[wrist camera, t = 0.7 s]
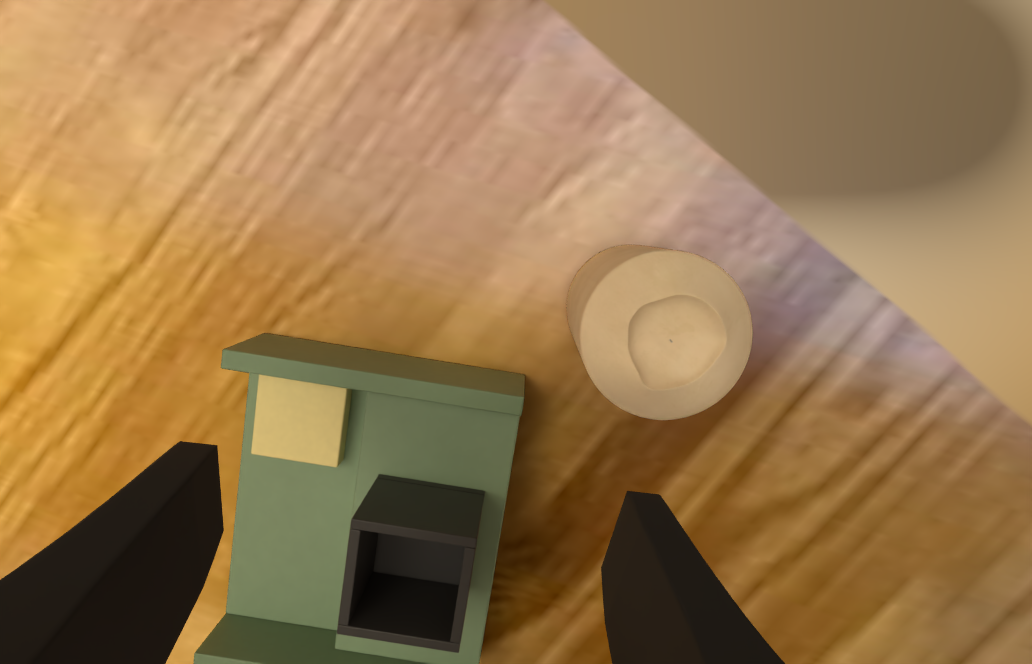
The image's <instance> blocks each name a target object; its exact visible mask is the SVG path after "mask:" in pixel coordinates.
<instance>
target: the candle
mask: <svg viewBox="0 0 1032 664" xmlns="http://www.w3.org/2000/svg"><path fill="white" fill-rule="evenodd" d="M566 309H567V319H568V324H569V327H570V330H571V333H572V336H573V338H574V341H575V343H576V346H577V348H578V351H579V353H580V356H581V358H582V361H583V363H584V366H585V368H586V370H587V372H588V374H589V376H590V378H591V380H592V381H593V383H594V384H595V386H596V387H597V389H598V390H599V391H600V392H601V393H602V394H603V395H604V396H605V397H606V398H607V399H608V400H609V401H610V402H612V403H613V404H614V405H616V406H617V407H619V408H621V409H622V410H624V411H626V412H628V413H631V414H633V415H636V416H639V417H643V418H648V419H654V420H673V419H679V418H685V417H688V416H691V415H694V414H697V413H699V412H701V411H703V410H706V409H707V408H709V407H711V406H712V405H714V404H715V403H717V402H718V401H719V400H720V399H722V398H723V397H724V396H725V395H726V394H727V393H728V392H729V391H730V390H731V389H732V388H733V386H734V385H735V384H736V382H737V381H738V379H739V378H740V376H741V374H742V372H743V371H744V369H745V366H746V364H747V361H748V359H749V355H750V351H751V346H752V337H753V331H752V320H751V314H750V310H749V307H748V304H747V301H746V299H745V297H744V295H743V293H742V291H741V290H740V288H739V287H738V285H737V284H736V282H735V281H734V280H733V279H732V278H731V277H730V275H729V274H727V273H726V272H725V271H724V270H723V269H722V268H721V267H719V266H718V265H716V264H715V263H713V262H712V261H710V260H707V259H705V258H703V257H701V256H698V255H695V254H692V253H688V252H683V251H678V250H671V249H663V248H656V247H649V246H642V245H621V246H616V247H612V248H609V249H607V250H604V251H602V252H600V253H598V254H597V255H595V256H594V257H592V258H591V259H590V260H589V261H587V262H586V263H585V264H584V265H583V266H582V268H581V269H580V270H579V271H578V273H577V274H576V276H575V278H574V280H573V282H572V284H571V286H570V289H569V292H568V297H567V307H566Z"/></svg>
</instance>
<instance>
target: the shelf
mask: <svg viewBox="0 0 1032 664" xmlns="http://www.w3.org/2000/svg"><path fill="white" fill-rule="evenodd" d="M221 368H222V369H228V370H234V371H240V372H247V373H249V383H248V394H247V404H246V414H245V424H244V434H243V444H242V454H241V464H240V474H239V484H238V494H237V505H236V515H235V525H234V535H233V545H232V555H231V565H230V575H229V585H228V595H227V605H226V614H225V615H224V617H223V618H222V619H221V620H220V622H219V623H218V624H217V625H216V627H215V628H214V629H213V630H212V632H211V633H210V634H209V636H208V637H207V638H206V639H205V641H204V642H203V643H202V644H201V646H200V647H199V648H198V649H197V651H196V652H195V654H194V664H479V662H480V656H481V650H482V644H483V638H484V632H485V626H486V619H487V613H488V607H489V601H490V595H491V589H492V583H493V577H494V571H495V565H496V559H497V553H498V547H499V541H500V535H501V529H502V523H503V517H504V511H505V505H506V499H507V493H508V486H509V480H510V474H511V468H512V462H513V456H514V450H515V444H516V438H517V432H518V426H519V420H520V416H521V415H522V410H523V404H524V394H525V375H524V374H518V373H512V372H506V371H499V370H493V369H487V368H481V367H474V366H468V365H462V364H456V363H449V362H443V361H437V360H431V359H424V358H418V357H412V356H406V355H399V354H393V353H387V352H381V351H374V350H368V349H362V348H356V347H349V346H343V345H337V344H331V343H324V342H318V341H312V340H306V339H299V338H293V337H287V336H281V335H274V334H268V333H263V334H261V335H258V336H256V337H253V338H251V339H248V340H246V341H243V342H240V343H238V344H235V345H233V346H230V347H228V348H225V349H223V351H222V362H221ZM259 375H266V376H272V377H278V378H284V379H291V380H297V381H303V382H309V383H316V384H322V385H328V386H334V387H341V388H347V389H352V395H351V403H350V411H349V419H348V427H347V435H346V443H345V451H344V459H343V461H342V462H341V463H340V465H339V466H338V467H330V466H324V465H317V464H311V463H305V462H298V461H292V460H286V459H280V458H273V457H267V456H261V455H254V454H251V449H252V439H253V429H254V419H255V409H256V400H257V390H258V380H259ZM379 474H383V475H389V476H395V477H401V478H408V479H414V480H420V481H427V482H433V483H439V484H445V485H452V486H458V487H464V488H471V489H477V490H483V491H485V496H484V502H483V508H482V515H481V521H480V527H479V533H478V540H477V546H476V552H475V558H474V565H473V571H472V577H471V583H470V590H469V596H468V602H467V608H466V614H465V620H464V626H463V632H462V638H461V644H460V650H459V653H454V652H448V651H442V650H435V649H429V648H423V647H416V646H410V645H404V644H397V643H391V642H385V641H378V640H372V639H366V638H359V637H353V636H347V635H340V634H337V626H338V618H339V611H340V603H341V595H342V587H343V579H344V572H345V564H346V556H347V548H348V540H349V532H350V529H351V528H350V525H351V519H352V517H353V516H354V514H355V512H356V511H357V509H358V507H359V506H360V504H361V502H362V501H363V499H364V498H365V496H366V494H367V493H368V491H369V489H370V488H371V486H372V485H373V483H374V481H375V480H376V478H377V477H378V475H379Z"/></svg>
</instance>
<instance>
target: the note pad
mask: <svg viewBox="0 0 1032 664" xmlns="http://www.w3.org/2000/svg"><path fill="white" fill-rule="evenodd" d="M351 395H352V389H347V388H341V387H334V386H328V385H322V384H316V383H309V382H303V381H297V380H291V379H284V378H278V377H272V376H266V375H259V380H258V390H257V400H256V409H255V419H254V429H253V439H252V449H251V454H254V455H261V456H267V457H273V458H280V459H286V460H292V461H298V462H305V463H311V464H317V465H324V466H330V467H338V466H339V465H340V463H341V462H342V461H343V459H344V451H345V443H346V435H347V427H348V419H349V411H350V403H351Z"/></svg>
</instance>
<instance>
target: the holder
mask: <svg viewBox="0 0 1032 664" xmlns="http://www.w3.org/2000/svg"><path fill="white" fill-rule="evenodd" d="M484 496H485V491H483V490H477V489H471V488H464V487H458V486H452V485H445V484H439V483H433V482H427V481H420V480H414V479H408V478H401V477H395V476H389V475H383V474H379V475H378V477H377V478H376V480H375V481H374V483H373V485H372V486H371V488H370V489H369V491H368V493H367V494H366V496H365V498H364V499H363V501H362V502H361V504H360V506H359V507H358V509H357V511H356V512H355V514H354V516H353V517H352V519H351V525H350V528H351V529H350V532H349V540H348V548H347V556H346V564H345V572H344V579H343V587H342V595H341V603H340V611H339V618H338V626H337V634H340V635H347V636H353V637H359V638H366V639H372V640H378V641H385V642H391V643H397V644H404V645H410V646H416V647H423V648H429V649H435V650H442V651H448V652H454V653H459V650H460V644H461V638H462V632H463V626H464V620H465V614H466V608H467V602H468V596H469V590H470V583H471V577H472V571H473V565H474V558H475V552H476V546H477V540H478V533H479V527H480V521H481V515H482V508H483V502H484Z"/></svg>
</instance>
